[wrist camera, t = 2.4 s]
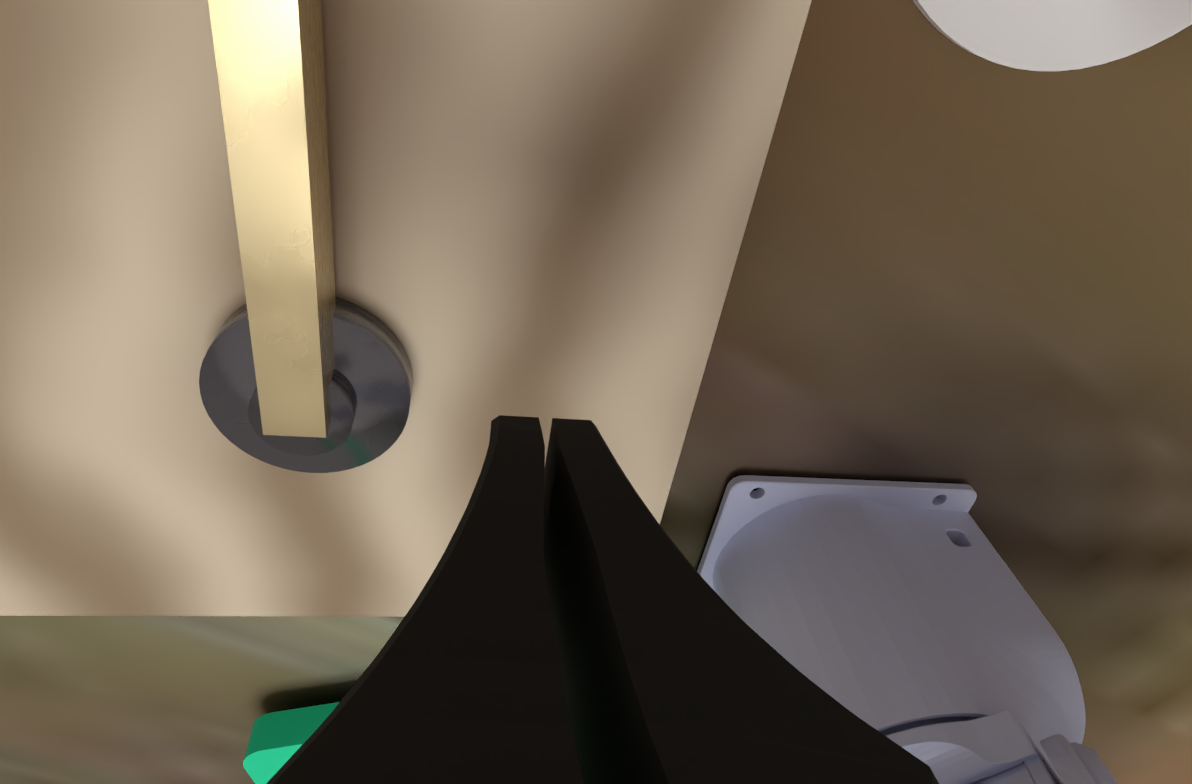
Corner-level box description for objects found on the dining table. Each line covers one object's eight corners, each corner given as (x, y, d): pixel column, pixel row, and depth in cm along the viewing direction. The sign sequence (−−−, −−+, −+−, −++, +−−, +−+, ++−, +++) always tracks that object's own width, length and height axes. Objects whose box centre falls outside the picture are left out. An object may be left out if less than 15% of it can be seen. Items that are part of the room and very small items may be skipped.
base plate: (811, -96, 16) (891, -85, 13) (626, 584, 28) (643, 675, 25) (-396, -335, 12) (-714, -405, 9) (7, 577, 24) (-65, 684, 21)
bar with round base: (421, -45, 14) (410, -29, 12) (411, 453, 21) (403, 515, 19) (135, -92, 13) (71, -83, 11) (224, 445, 20) (195, 509, 18)
